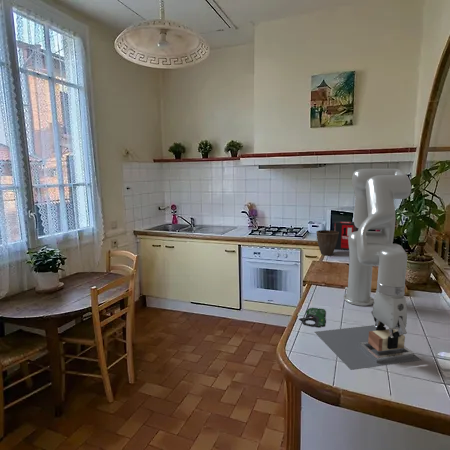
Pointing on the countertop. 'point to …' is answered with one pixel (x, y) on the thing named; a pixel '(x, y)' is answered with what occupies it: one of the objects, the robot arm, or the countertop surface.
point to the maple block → (383, 340)
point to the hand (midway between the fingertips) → (386, 343)
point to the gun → (314, 317)
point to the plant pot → (327, 241)
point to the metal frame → (391, 357)
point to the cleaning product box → (344, 234)
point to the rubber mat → (356, 347)
